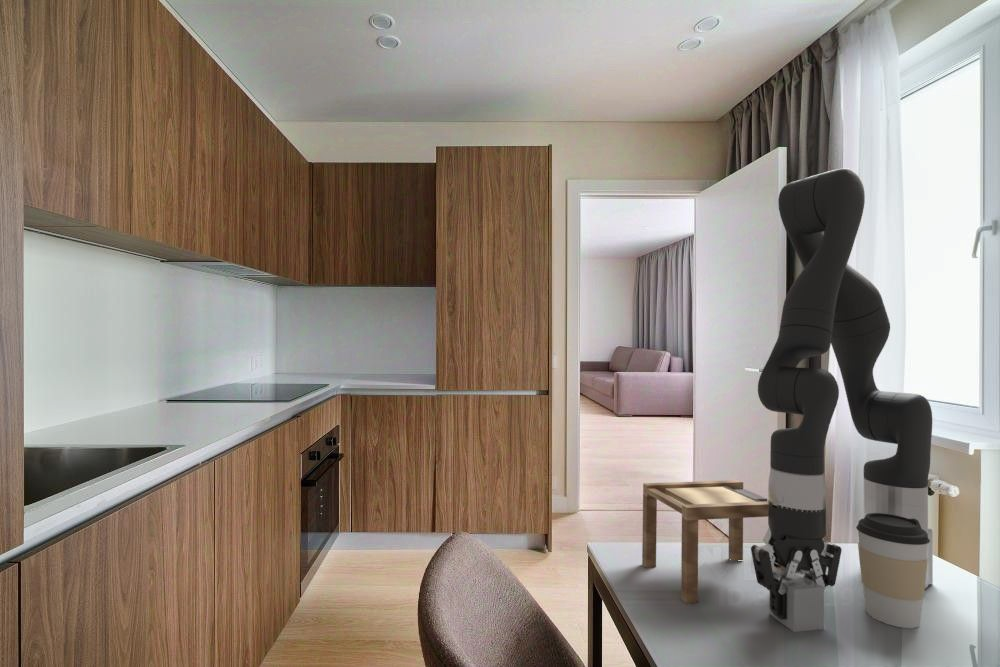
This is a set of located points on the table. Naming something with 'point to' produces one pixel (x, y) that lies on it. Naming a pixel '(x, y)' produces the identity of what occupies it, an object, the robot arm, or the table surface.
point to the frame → (695, 527)
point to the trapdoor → (712, 495)
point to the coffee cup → (893, 568)
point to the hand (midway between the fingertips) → (796, 614)
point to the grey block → (803, 605)
